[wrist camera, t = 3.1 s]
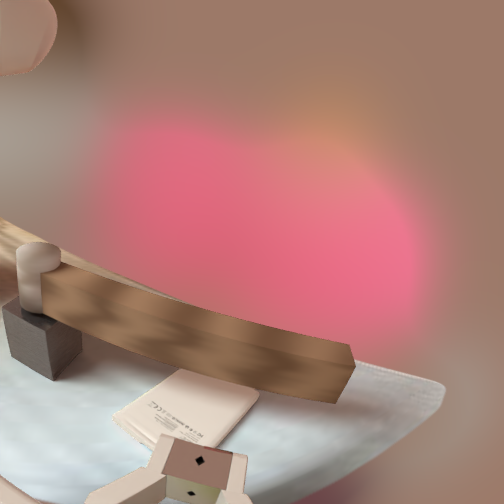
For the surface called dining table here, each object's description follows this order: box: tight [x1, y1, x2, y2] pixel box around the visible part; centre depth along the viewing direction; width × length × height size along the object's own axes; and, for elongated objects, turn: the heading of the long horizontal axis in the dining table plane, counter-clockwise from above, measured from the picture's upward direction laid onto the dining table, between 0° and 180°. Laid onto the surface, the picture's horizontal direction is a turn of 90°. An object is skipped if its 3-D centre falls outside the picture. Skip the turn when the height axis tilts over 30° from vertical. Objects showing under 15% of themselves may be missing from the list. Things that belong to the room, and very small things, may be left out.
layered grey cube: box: [2, 296, 82, 381], centre depth 25 cm, size 6×6×6 cm
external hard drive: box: [112, 368, 260, 451], centre depth 25 cm, size 2×8×12 cm
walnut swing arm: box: [16, 242, 356, 404], centre depth 23 cm, size 30×4×5 cm, turn 85°
